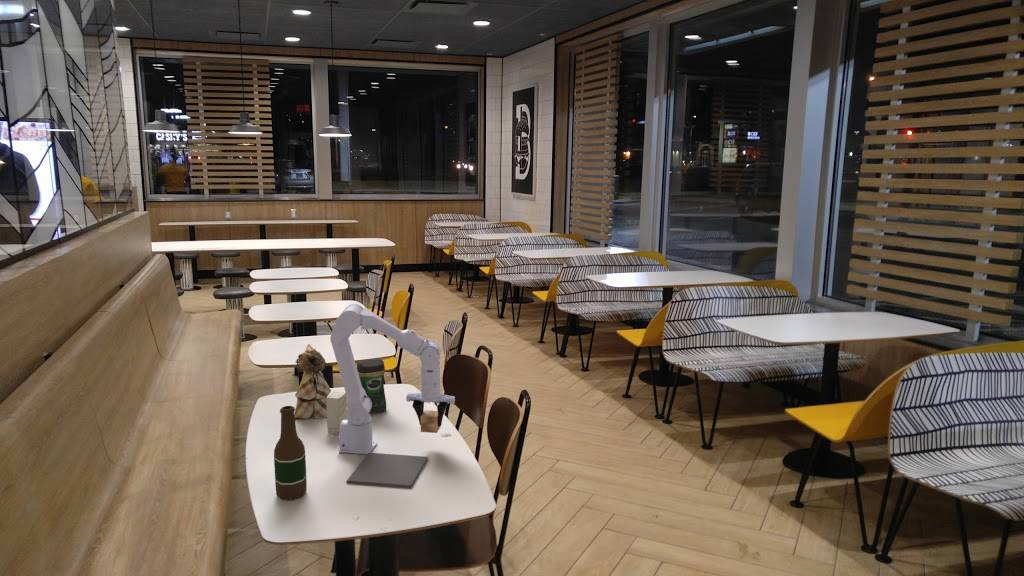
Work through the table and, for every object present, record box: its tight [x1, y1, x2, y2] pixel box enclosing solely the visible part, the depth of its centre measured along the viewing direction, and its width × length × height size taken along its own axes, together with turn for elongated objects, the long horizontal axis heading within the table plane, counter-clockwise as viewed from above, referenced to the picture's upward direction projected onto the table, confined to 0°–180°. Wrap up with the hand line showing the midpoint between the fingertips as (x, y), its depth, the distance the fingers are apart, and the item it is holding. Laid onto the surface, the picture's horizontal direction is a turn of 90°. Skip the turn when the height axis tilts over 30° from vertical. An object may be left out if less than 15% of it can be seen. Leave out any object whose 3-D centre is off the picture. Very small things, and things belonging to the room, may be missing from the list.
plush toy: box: [294, 343, 332, 420], centre depth 232 cm, size 14×14×25 cm
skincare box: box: [326, 391, 347, 435], centre depth 219 cm, size 6×4×12 cm
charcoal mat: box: [346, 452, 429, 489], centre depth 193 cm, size 18×18×1 cm
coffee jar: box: [356, 357, 387, 415], centre depth 237 cm, size 10×8×19 cm
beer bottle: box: [273, 405, 308, 501], centre depth 177 cm, size 8×8×24 cm
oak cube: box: [420, 409, 442, 434], centre depth 207 cm, size 5×5×5 cm
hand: (430, 424), depth 207 cm, fingers closed on oak cube, 5 cm apart
